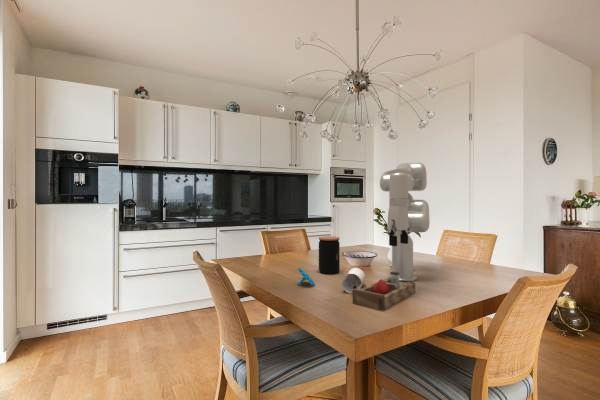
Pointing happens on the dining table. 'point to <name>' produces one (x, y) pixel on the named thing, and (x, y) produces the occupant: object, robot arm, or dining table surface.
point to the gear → (305, 277)
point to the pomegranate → (381, 287)
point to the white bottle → (353, 280)
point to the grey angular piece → (394, 281)
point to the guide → (381, 296)
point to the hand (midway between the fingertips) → (398, 244)
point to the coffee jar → (329, 255)
